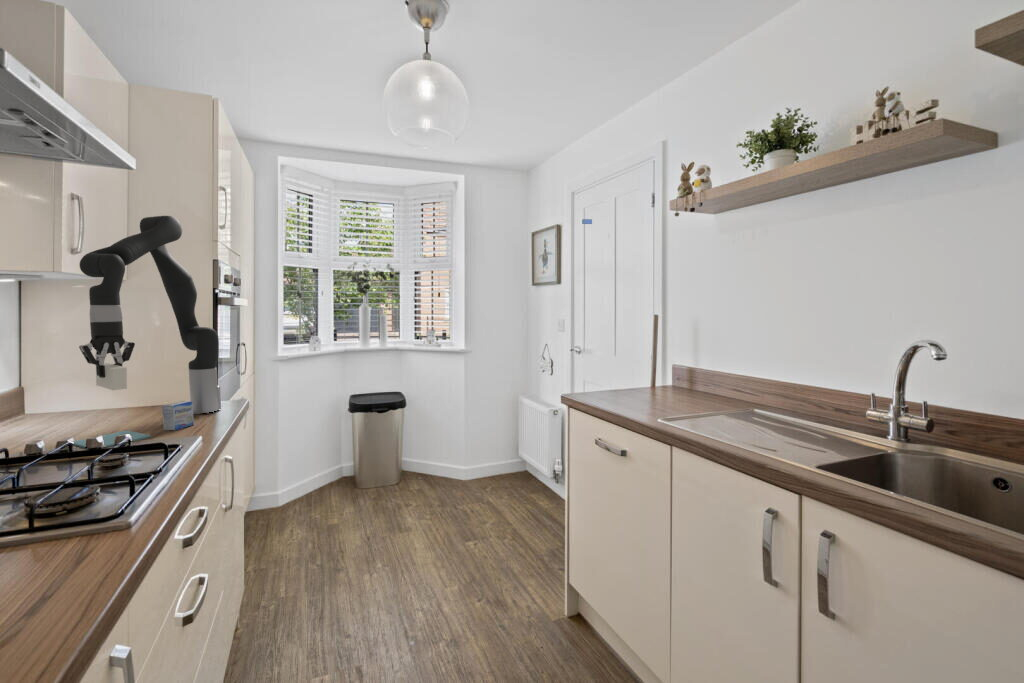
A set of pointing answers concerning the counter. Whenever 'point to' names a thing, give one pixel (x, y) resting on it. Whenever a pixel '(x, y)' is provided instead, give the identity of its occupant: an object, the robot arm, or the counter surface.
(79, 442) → the mat
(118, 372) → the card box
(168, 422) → the medicine box
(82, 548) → the counter surface
